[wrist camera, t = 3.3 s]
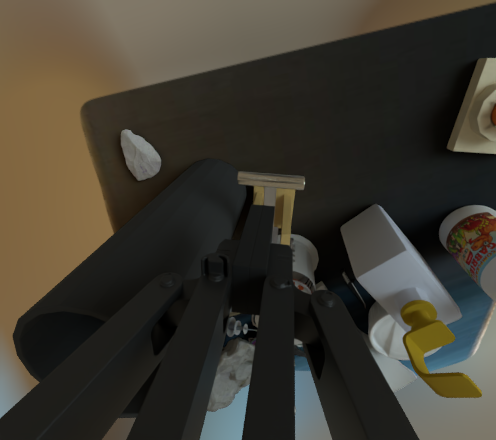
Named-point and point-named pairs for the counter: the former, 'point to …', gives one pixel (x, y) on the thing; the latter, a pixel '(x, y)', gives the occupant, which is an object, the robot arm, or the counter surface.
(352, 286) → the knife
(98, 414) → the robot arm
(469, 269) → the milk bottle
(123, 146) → the stone
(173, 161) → the counter surface
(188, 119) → the counter surface
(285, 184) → the lever
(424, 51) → the counter surface
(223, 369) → the stone
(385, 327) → the ramekin
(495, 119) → the button
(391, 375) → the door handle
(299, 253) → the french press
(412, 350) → the soap bottle
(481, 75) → the button block
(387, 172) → the counter surface
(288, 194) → the bracket
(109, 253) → the vase
